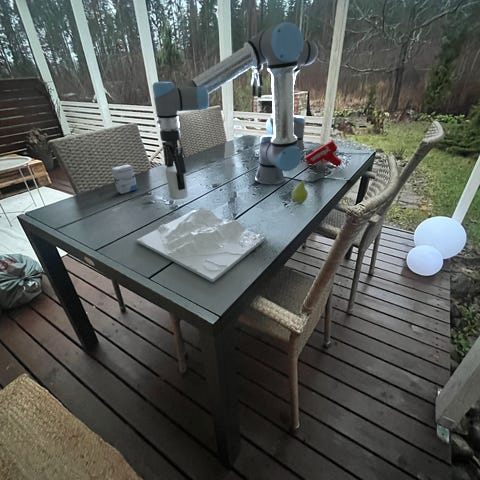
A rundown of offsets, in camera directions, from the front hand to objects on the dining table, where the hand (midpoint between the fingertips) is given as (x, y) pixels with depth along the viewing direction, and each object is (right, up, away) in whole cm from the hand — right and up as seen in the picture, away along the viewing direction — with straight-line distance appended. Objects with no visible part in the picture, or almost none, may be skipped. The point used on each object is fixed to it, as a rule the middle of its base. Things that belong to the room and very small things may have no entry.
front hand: (177, 186), depth 115 cm
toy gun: (+76, +22, +50) cm, 94 cm away
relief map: (+13, -23, -20) cm, 34 cm away
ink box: (-29, +2, +19) cm, 35 cm away
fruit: (+53, -6, +7) cm, 54 cm away
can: (0, -4, +2) cm, 4 cm away
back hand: (+39, +84, +87) cm, 127 cm away
